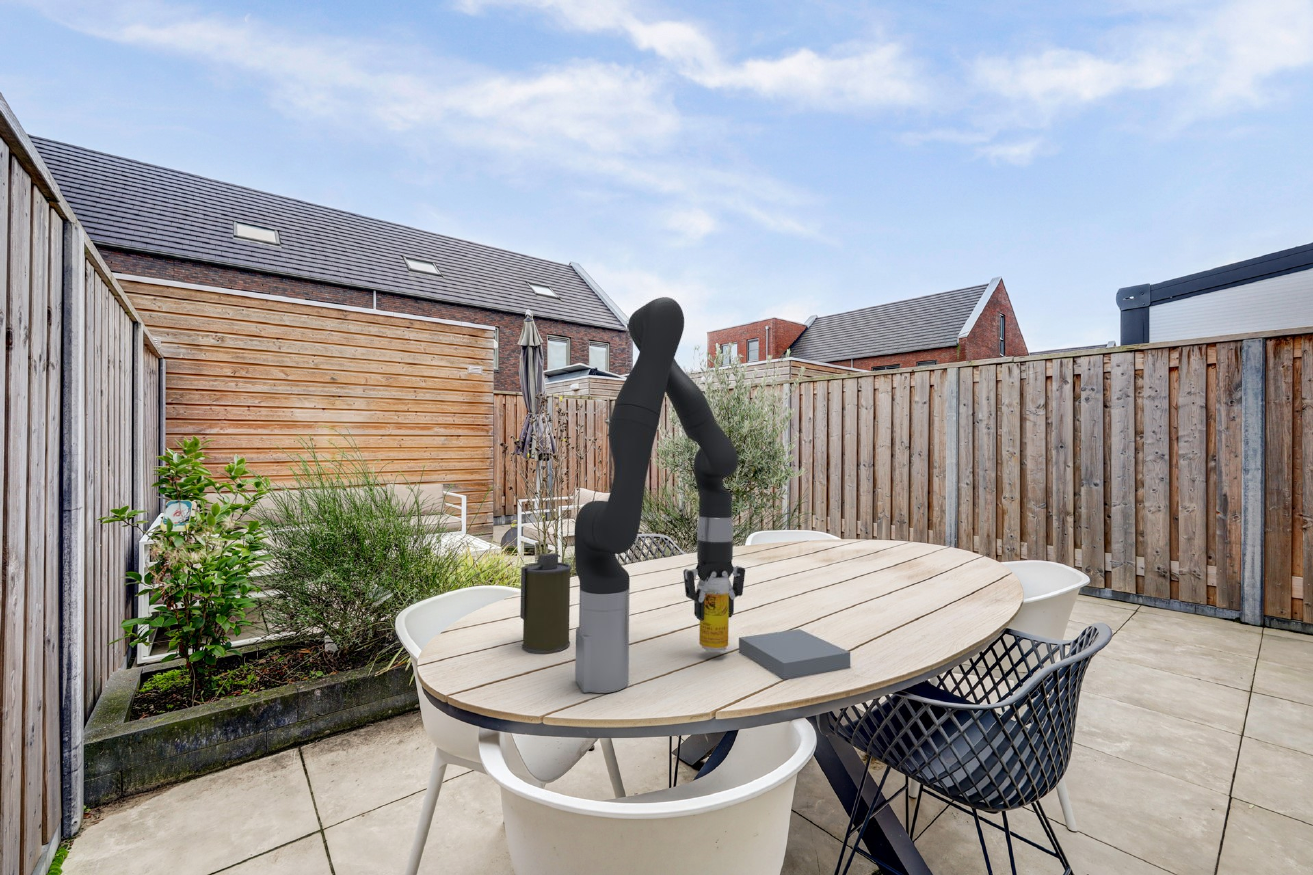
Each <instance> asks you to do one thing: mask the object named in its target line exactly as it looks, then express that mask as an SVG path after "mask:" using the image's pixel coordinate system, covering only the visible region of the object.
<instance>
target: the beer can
mask: <svg viewBox="0 0 1313 875" xmlns="http://www.w3.org/2000/svg"><path fill="white" fill-rule="evenodd" d="M707 578H708V577H707ZM706 581H707V580H706ZM706 581H703V580H700V586H702V587H703V586H704V585H705V583H706ZM700 592H701V590H700ZM703 602H704V620H699V633H698V634H699V639H698V640H699V645H700V646H701V648H702V650H705V651H708V652H723V651H725V650H726V648H727V647H728V646H729V628H730V626H729V625H730V623H729V622H730V621H729V619H730V618H729V581H728V579H727V577H723V578H722V577H717V578H711V579H710V580H709V582H708V591H707V592H706V593H705V598H704V601H703Z"/></svg>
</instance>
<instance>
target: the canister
mask: <svg viewBox="0 0 1313 875" xmlns="http://www.w3.org/2000/svg"><path fill="white" fill-rule="evenodd" d="M558 558H561V555H560V554H558V553H556V552H551V553H539V555H538V559H537V561H536V562H535V563H530V564H526V565H525V566H521V568H520V571H521V572H520V573H521V574H520V576H521V577H520V609H519V610H520V616H519V617H520V619H522V620H523V624H522V626H523V627H522V629H523V632H522V636H523V637H522V644H521V648H522V650H523V651H525V652H527V653H531V654H538V655H546V654H553V653H559V652H562V651H564V650H566V649H568V648H569V647H570V645H571V642H570V608H571V605H570V600H571V598H570V597H571V595H570V594H571V569H572V565H571V564H569V563H564V562H559V561H558Z"/></svg>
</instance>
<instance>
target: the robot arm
mask: <svg viewBox="0 0 1313 875" xmlns="http://www.w3.org/2000/svg"><path fill="white" fill-rule="evenodd" d="M627 327H628V333H629V336H630V338H631V340H632V342H633V344H634V345H635V347H636V348H637V350H638V351H639V354H638V356H637V359H636V361H635V363H634V365H633V367H632V369H631V371H630V372H629V374H628V376H627V377H626V379H625V380H624V383H623V385H622V386H621V388H620V390H619V391H618V394H617V397H616V398H615V402H614V405H613V409H612V413H611V417H610V420H609V425H608V442H609V449H610V453H611V456H612V462H613V479H612V484H611V489H610V493H609V496H608V499H607V501H605V500H592V501H588V502H587V503H585V504H584V505H583V506H582V507H581V508H580V510H579V511H578V513H577V516H576V519H575V523H574V539H573V540H574V563H575V565H574V566H575V571H576V574H577V577H578V580H579V602H578V603H579V606H578V608H579V610H578V611H579V612H578V618H579V619H578V620H579V621H578V627H577V628H575V660H574V661H575V662H574V663H575V664H574V666H575V670H574V671H575V672H574V674H575V675H574V680H575V682H576V684H577V686H579V688H580V690H581V692H582V693H596V694H607V693H614V692H617V691H620V690H622V689H623V690H624V689H625V688H626V687H627V686H628V685H629V681H630V680H629V679H630V678H629V677H630V676H629V675H630V674H629V673H630V667H629V664H630V585H631V584H630V574H629V572H628V570H626V569H625V568H624V567H623V566H622V565H621V563H620V561H618V558H617V556H616V555H617V554H618V555H619V554H624V553H626V552H628V551H629V550H630V549H631V548H632V547H633V545H634V544H635V542H636V540H637V537H638V535H639V531H640V527H641V519H642V513H643V512H642V511H643V504H644V494H645V489H646V481H647V476H648V471H649V468H650V467H649V466H650V461H651V456H652V453H653V452H652V450H653V447H654V442H655V439H656V436H657V435H656V434H657V431H658V428H659V422H660V419H661V413H662V407H663V403H664V398H665V394H666V395H667V397H668V399H669V401H670V403H671V405H672V407H673V409H674V411H675V413H676V416H677V418H678V420H679V422H680V424H681V427H682V429H683V431H684V433H685V435H686V437H687V438H688V439H690V441H693V442H694V443H695V442H696V443H697V445H698V446H699V449H698V450H697V452H696V454H695V456H694V461H693V472H694V479H695V483H696V488H697V492H698V496H699V499H698V500H699V502H698V508H699V509H698V522H697V533H696V536H697V538H696V539H697V541H696V543H697V544H696V545H697V546H696V547H697V548H696V549H697V551H696V556H697V557H696V558H697V565H696V567H695V568H692V569H687V568H685V569H684V570H683V571H682V572H683V580H684V588H685V589H684V592H685V596H686V598H688V599H690V600H692V601H693V602H694V603H693V604H694V606H693V608H694V612H693V615H694V617H696V620H698V621H700V620H704V602H703V601H704V598H705V593H706V592H707V591H708V582H709V580H710V579H711V578H717V577H722V578H723V577H727V579H728V581H729V619H730V618H732V617H733V615H734V612H735V608H734V607H735V606H734V605H735V599H736V598H737V597H741V596H743V594H744V593H743V592H744V584H745V577H746V568H744V567H742V566H739V565H735V566H734V565H733V563H732V561H733V559H734V558H733V554H734V552H733V550H734V545H733V543H734V540H733V539H734V537H733V536H734V527H733V518H732V516H733V511H732V510H733V498H732V493H731V492H730V491H729V490H728V489H727V488H725V486H724V481H723V479H724V478H729V477H731V476H733V475H734V474H735V473H736V471H737V470H738V466H739V456H738V452H737V449H736V448H735V445H734V444H733V443H732V441H731V440H730V439H729V437H728V436H727V434H726V432H725V431H724V430H723V429H722V428H721V426H720V425H719V424H718V422H717V420H716V418H715V416H714V414H713V411H712V408H711V407H710V404H709V401H708V400H707V398H706V396H705V394H704V393H703V391H702V390H701V389H700V387H699V386H698V385H697V383H696V382H694V380H693V379H692V378H691V377H689V375H688V374H687V373H686V372H685V371H684V370H683V369H682V368H681V366H680V365H679V363H678V362H677V361H676V359H675V357H676V354H677V351H678V348H679V344H680V343H681V339H682V337H683V332H684V329H685V316H684V311H683V308H682V307H681V306H680V304H679V303H678V302H677V301H676V300H675V299H673V298H672V297H668V296H662V297H661V296H660V297H658V298H655V299H652V300H651V301H649V302H647V303H645V304H644V305H642V306H641V307H640V308H638V309H637V310H635V311H634V312H633V313H632V314H631V316H630V317H629V319H628V326H627ZM697 576H698V578H699V580H698V582H697V584H696V583H695V581H696V578H697ZM731 576H733V579H732V583H731V580H730V577H731ZM707 577H708V578H707ZM700 580H703V581H706V580H707V581H706V583H705V585H704V586H703V587H702V586H700ZM695 584H696V585H695ZM700 590H701V592H700Z"/></svg>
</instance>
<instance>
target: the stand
mask: <svg viewBox="0 0 1313 875" xmlns="http://www.w3.org/2000/svg"><path fill="white" fill-rule="evenodd" d="M738 652H739V654H742V655H743V656H745V657H747V658H748V659H750V660H752V661H753V662H755V663H757V664H758V665H760V666H761V667H763V668H765V669H766V670H768V671H769V672H771V673H772V674H774V675H776V676H777V677H779V678H781V679H782V680H784V681H785V680H789V679H794V678H796V679H797V678H799V677H806V676H811V675H817V674H818V675H819V674H823V673H827V672H833V671H839V670H844V669H845V670H846V669H850V668H851V651H848V650H846V649H845V648H841V647H840V646H838V645H836V644H833V643H831V642H829V641H826V640H824V639H822V638H820V637H818V636H815V635H814V634H811V633H808V632H807V631H805V630H803V629H800V628H798V629H789V630H783V631H777V632H769V633H761V634H753V635H748V636H740V637H738Z"/></svg>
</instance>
